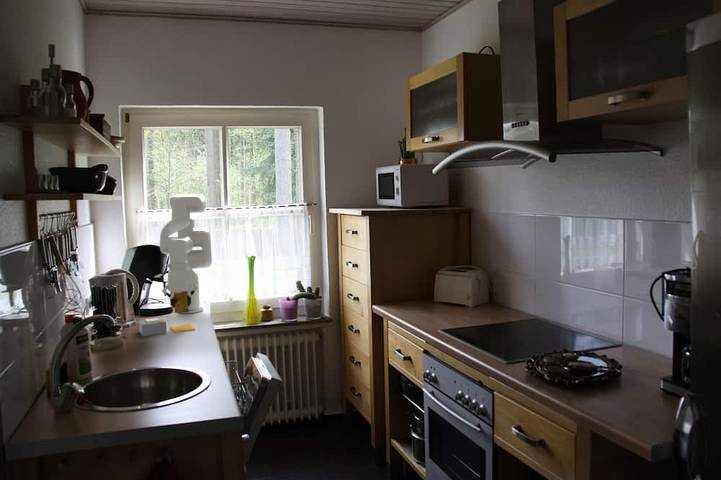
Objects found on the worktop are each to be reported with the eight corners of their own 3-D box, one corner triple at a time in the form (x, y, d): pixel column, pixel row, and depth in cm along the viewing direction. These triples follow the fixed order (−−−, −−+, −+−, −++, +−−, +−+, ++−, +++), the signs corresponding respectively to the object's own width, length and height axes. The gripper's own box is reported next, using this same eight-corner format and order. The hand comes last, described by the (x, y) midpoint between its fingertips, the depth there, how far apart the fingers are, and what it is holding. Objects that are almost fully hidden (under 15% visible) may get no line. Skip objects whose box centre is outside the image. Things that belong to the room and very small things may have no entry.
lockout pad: (169, 327, 272) (169, 326, 272) (189, 325, 276) (189, 324, 276) (174, 332, 262) (174, 331, 262) (194, 329, 266) (194, 328, 266)
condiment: (170, 313, 266) (168, 286, 265) (181, 310, 274) (179, 284, 274) (184, 313, 264) (182, 286, 263) (195, 310, 272) (193, 283, 271)
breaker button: (145, 328, 265) (145, 319, 265) (157, 326, 267) (157, 317, 267) (147, 330, 260) (146, 321, 260) (159, 328, 263) (158, 319, 262)
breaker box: (139, 331, 266) (138, 319, 266) (162, 328, 271) (162, 316, 270) (142, 336, 257) (141, 323, 257) (166, 333, 262) (165, 320, 261)
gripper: (159, 268, 260) (162, 309, 261) (200, 265, 267) (202, 305, 269) (157, 267, 266) (159, 307, 268) (196, 263, 274) (198, 302, 275)
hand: (180, 305), depth 268 cm, fingers closed on condiment, 6 cm apart
